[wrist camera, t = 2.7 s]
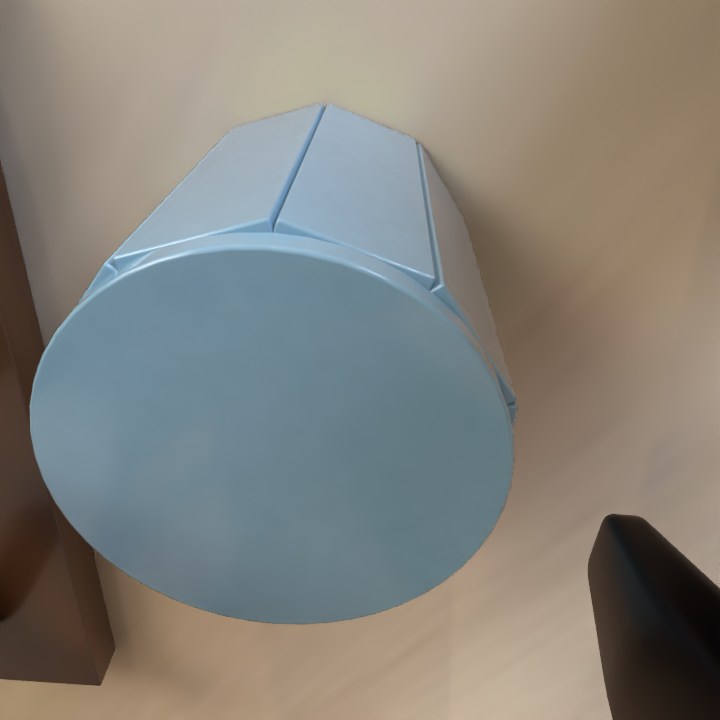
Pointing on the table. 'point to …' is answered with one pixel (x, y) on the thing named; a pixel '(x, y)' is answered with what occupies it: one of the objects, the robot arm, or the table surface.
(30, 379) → the rack
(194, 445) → the cup
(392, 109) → the table surface
